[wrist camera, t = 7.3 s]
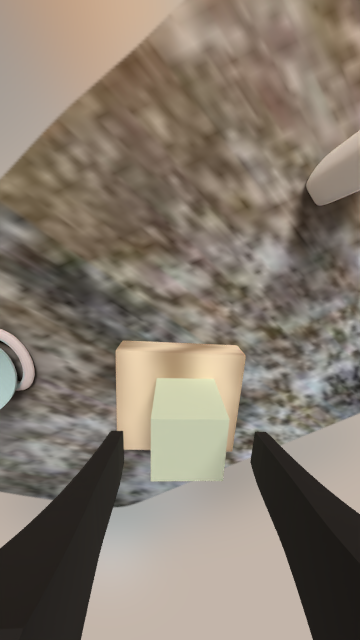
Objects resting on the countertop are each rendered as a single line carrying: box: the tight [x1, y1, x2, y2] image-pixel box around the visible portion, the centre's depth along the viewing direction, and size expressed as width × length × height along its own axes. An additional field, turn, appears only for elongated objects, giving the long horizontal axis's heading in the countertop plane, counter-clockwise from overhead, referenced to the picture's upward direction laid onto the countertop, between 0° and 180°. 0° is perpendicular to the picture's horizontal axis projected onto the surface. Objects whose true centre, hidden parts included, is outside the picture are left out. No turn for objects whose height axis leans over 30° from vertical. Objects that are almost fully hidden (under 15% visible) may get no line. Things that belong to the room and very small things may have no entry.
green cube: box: [151, 378, 230, 481], centre depth 16 cm, size 5×5×5 cm
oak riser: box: [116, 341, 246, 451], centre depth 20 cm, size 11×10×3 cm
